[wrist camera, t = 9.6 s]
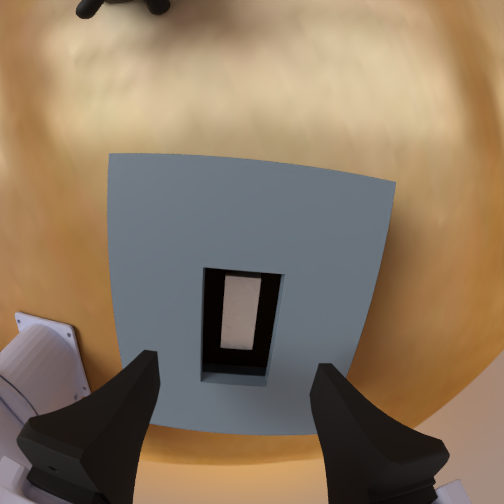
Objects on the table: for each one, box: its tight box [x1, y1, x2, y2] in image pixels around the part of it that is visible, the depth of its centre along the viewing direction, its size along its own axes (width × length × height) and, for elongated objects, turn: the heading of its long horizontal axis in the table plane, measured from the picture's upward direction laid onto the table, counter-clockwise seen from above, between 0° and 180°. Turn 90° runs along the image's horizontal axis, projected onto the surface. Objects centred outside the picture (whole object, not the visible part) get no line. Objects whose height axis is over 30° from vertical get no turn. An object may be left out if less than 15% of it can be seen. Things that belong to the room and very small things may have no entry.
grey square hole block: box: [107, 153, 396, 435], centre depth 19 cm, size 18×14×7 cm
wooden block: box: [221, 269, 261, 350], centre depth 20 cm, size 5×2×5 cm, turn 174°
